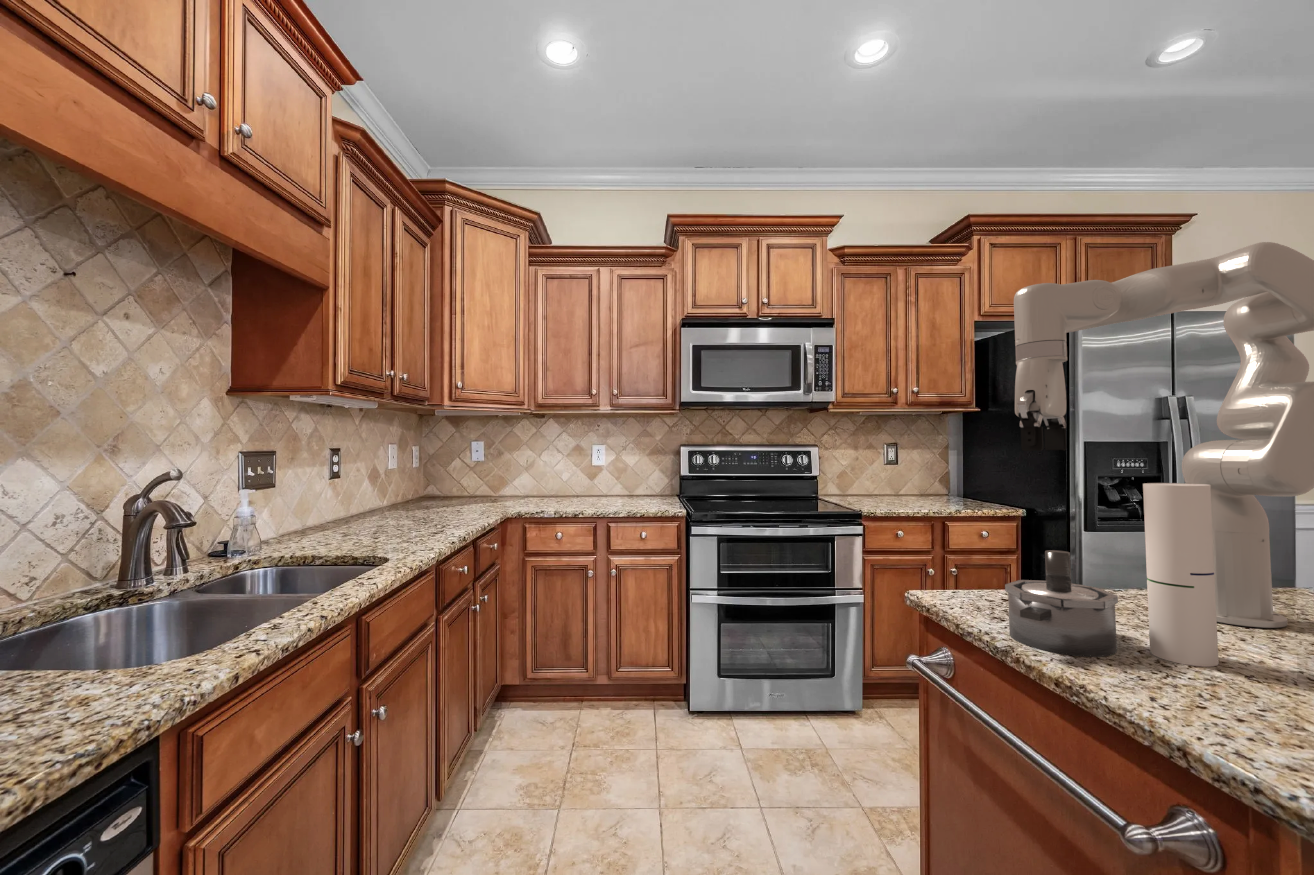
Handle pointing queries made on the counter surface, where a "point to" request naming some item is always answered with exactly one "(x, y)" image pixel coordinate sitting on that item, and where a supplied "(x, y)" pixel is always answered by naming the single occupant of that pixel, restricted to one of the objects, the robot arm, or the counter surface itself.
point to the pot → (1063, 621)
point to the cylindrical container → (1180, 573)
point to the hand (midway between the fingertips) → (1044, 450)
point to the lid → (1059, 579)
